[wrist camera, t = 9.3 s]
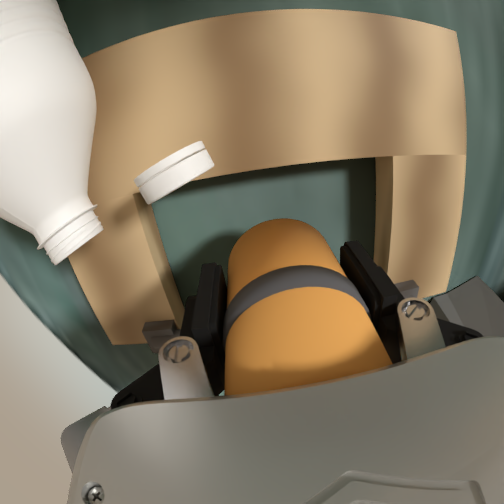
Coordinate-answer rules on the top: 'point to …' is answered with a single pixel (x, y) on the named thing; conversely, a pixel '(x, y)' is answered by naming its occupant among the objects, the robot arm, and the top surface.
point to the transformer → (472, 308)
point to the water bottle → (58, 133)
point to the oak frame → (273, 139)
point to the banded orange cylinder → (293, 313)
